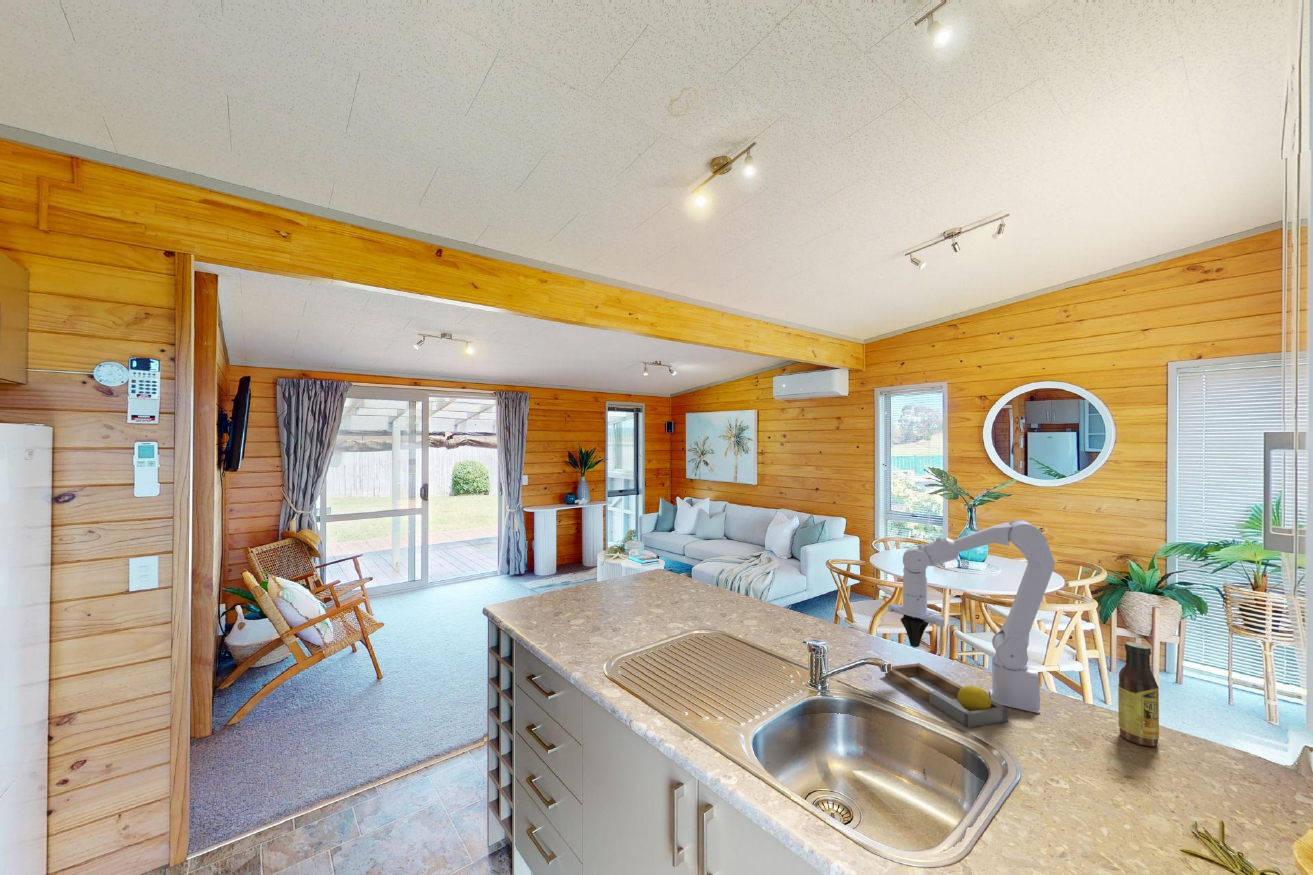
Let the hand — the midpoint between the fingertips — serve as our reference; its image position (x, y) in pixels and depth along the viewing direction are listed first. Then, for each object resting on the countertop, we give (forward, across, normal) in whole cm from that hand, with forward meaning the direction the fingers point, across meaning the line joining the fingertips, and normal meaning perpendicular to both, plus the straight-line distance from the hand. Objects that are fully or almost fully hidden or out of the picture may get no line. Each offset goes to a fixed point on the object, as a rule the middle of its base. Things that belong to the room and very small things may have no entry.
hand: (914, 645), depth 133 cm
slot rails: (+10, -4, +1) cm, 10 cm away
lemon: (+8, -13, +3) cm, 15 cm away
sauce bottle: (+10, -40, -15) cm, 44 cm away
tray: (+10, -16, +4) cm, 19 cm away
